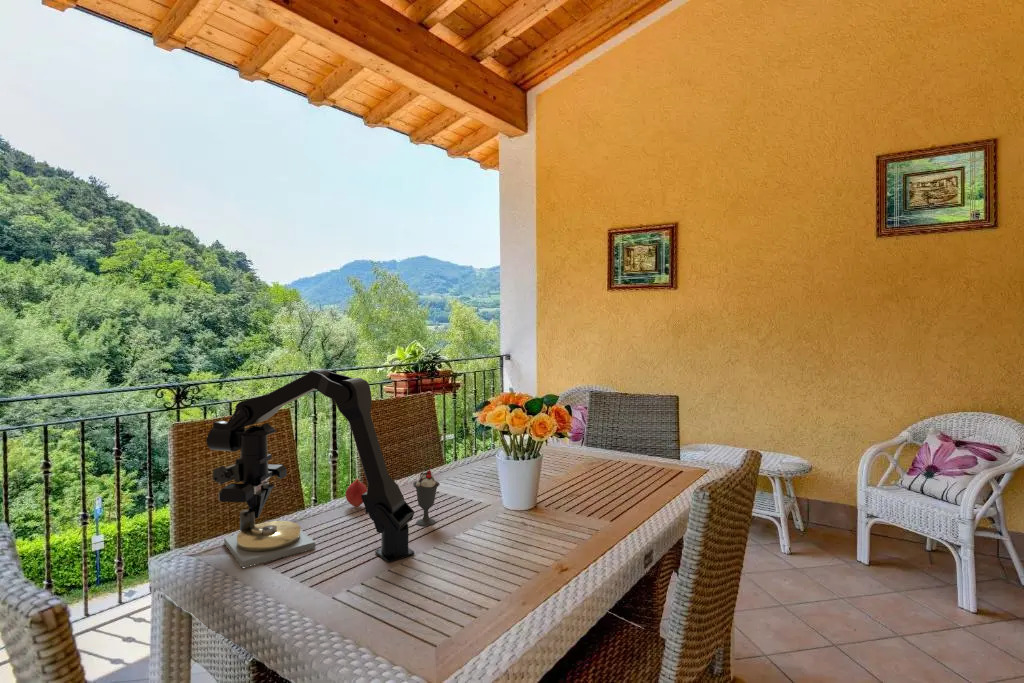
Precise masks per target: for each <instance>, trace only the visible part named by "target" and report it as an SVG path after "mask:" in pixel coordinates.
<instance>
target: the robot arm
mask: <svg viewBox="0 0 1024 683" xmlns="http://www.w3.org/2000/svg"><path fill="white" fill-rule="evenodd" d="M316 390H317V391H318V392H319V393H321V394H322V395H323V396H325V397H327V398H329V399H332V400H333V401H334V403H335V405H336V407H337V409H338V410H339V413H340V414H341V415H342V416H343V417H344V418H345V419H346V420H347V421H348V424H349V426H350V430H351V432H352V436H353V439H354V443H355V446H356V449H357V452H358V456H359V459H360V461H361V462H360V463H361V466H362V469H363V472H364V476H365V479H366V483H367V487H366V488H367V492H365V493H364V494H362V495H361V497H362V501H363V503H362V504H363V505H364V507H365V508H364V509H365V511H364V512H365V515H366V514H368V516H369V518H370V520H371V521H373V524H374V527H375V529H376V533H377V534H378V533H379V534H381V539H380V540H381V543H380V544H381V548H377V549H375V551H374V553H375V554H376V555H378V556H379V557H381V558H382V559H383V560H384V561H386V562H388V563H391V562H395V561H397V560H401V559H403V558H407V557H410V556H413V555H415V551H414V550H413V549H412V548H410V547H409V532H410V531H409V523H410V522H411V521H412V520H413V518H414V516H415V510H413V509H412V507H411V506H410V505H409V504H408V503H407V501H405V497H404V495H403V493H402V491H401V489H400V487H399V485H398V484H397V482H396V481H395V480H394V479H393V478H392V477H391V475H390V474H389V471H388V468H387V465H386V462H385V458H384V454H383V452H382V448H381V445H380V442H379V438H378V435H377V433H376V428H375V425H374V422H373V419H372V414H371V412H372V411H371V410H372V404H373V403H372V402H373V400H372V393H371V392H372V391H371V386H370V384H369V382H368V381H367V380H366V379H363V378H361V377H354V378H353V377H351V376H348V375H343V374H341V373H336V372H332V371H329V370H327V369H325V368H318V369H313V370H309V371H308V372H307V374H305V375H303V376H301V377H299V378H297V379H295V380H293V381H290V382H289V383H286V384H284V385H283V386H281V387H279V388H277V389H275V390H273V391H271V392H269V393H267V394H263V395H260V396H259V395H258V396H255V397H251V398H248V399H246V400H245V399H244V400H242V401H239V402H238V403H236V405H235V409H234V412H233V414H232V415H231V417H230V419H229V420H228V421H224V420H218V421H215V422H213V423H212V428H211V429H210V430H209V431H208V434H207V437H206V439H205V440H206V446H207V447H208V449H210V450H211V451H219V452H222V451H223V452H234V453H235V452H237V451H239V450H240V451H239V452H240V454H239V456H240V457H239V458H237V459H236V460H235V462H234V464H231V465H228V466H225V465H221V466H218V467H216V468H214V469H213V470H212V471H213V473H212V481H214V482H215V483H217V484H219V486H222V485H224V484H226V483H228V482H231V481H233V480H234V483H233V482H232V483H230V484H228V485H225V487H224V486H223V488H221V489H220V490H219V492H218V502H221V503H222V502H223V503H246V505H247V507H248V509H253V510H255V519H259V517H260V515H261V513H262V510H263V509H264V506H265V504H266V503H267V500H268V498H269V496H270V494H271V491H272V489H273V488H274V487H275V484H274V483H273V484H271V483H270V484H269V481H268V480H269V479H270V478H273V477H277V478H278V479H279V480H282V479H284V478H286V477H287V475H288V474H287V473H288V471H287V467H286V466H285V465H284V464H269V463H268V462H269V460H271V459H272V454H271V453H268V451H269V450H268V435H272V434H274V433H276V432H277V429H275V427H273V426H272V425H270V423H269V422H266V423H263V424H261V425H255V424H258V423H262V422H265V421H268V420H269V419H270V418H271V417H273V416H274V415H275V414H277V413H278V412H279V410H280V409H282V408H283V407H284V406H285V405H288V404H290V403H292V402H294V401H296V400H298V399H300V398H302V397H304V396H306V395H308V394H311V393H312V392H314V391H316ZM248 426H249V427H248ZM245 427H247V428H245ZM241 482H242V483H241Z"/></svg>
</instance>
